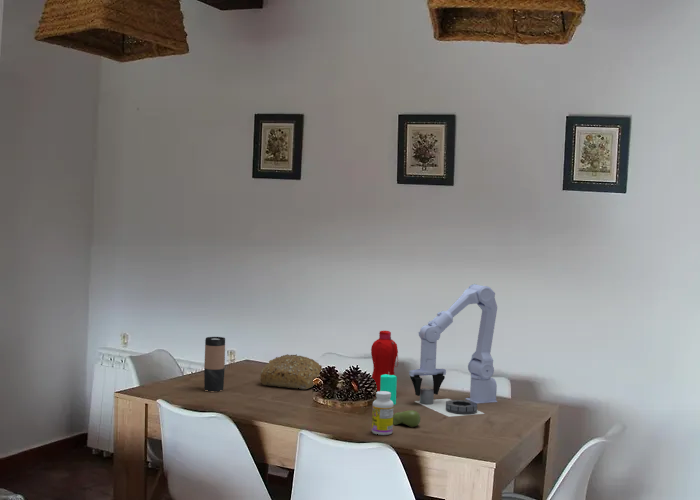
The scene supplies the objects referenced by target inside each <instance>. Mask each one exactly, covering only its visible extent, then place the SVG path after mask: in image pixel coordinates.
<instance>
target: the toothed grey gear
mask: <svg viewBox="0 0 700 500" xmlns="http://www.w3.org/2000/svg"><path fill="white" fill-rule="evenodd" d="M477 410H478V403H475V402H472V401H469V400H466V399H451V400H449V401H447V402H446V411H447V412H450V413H454V414H462V415H464V416H470V415H469V414H475V413H477ZM475 415H476V414H475Z"/></svg>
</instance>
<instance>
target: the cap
mask: <svg viewBox="0 0 700 500" xmlns="http://www.w3.org/2000/svg"><path fill="white" fill-rule="evenodd" d="M434 395H435V394H434V390H433V388H430V387H429V388H428V387H422V388H421V389H420V396H419V401H420V403H421V404H425V405H431V404H433V400H435V399H434V397H435V396H434ZM421 404H420V405H421Z"/></svg>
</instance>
